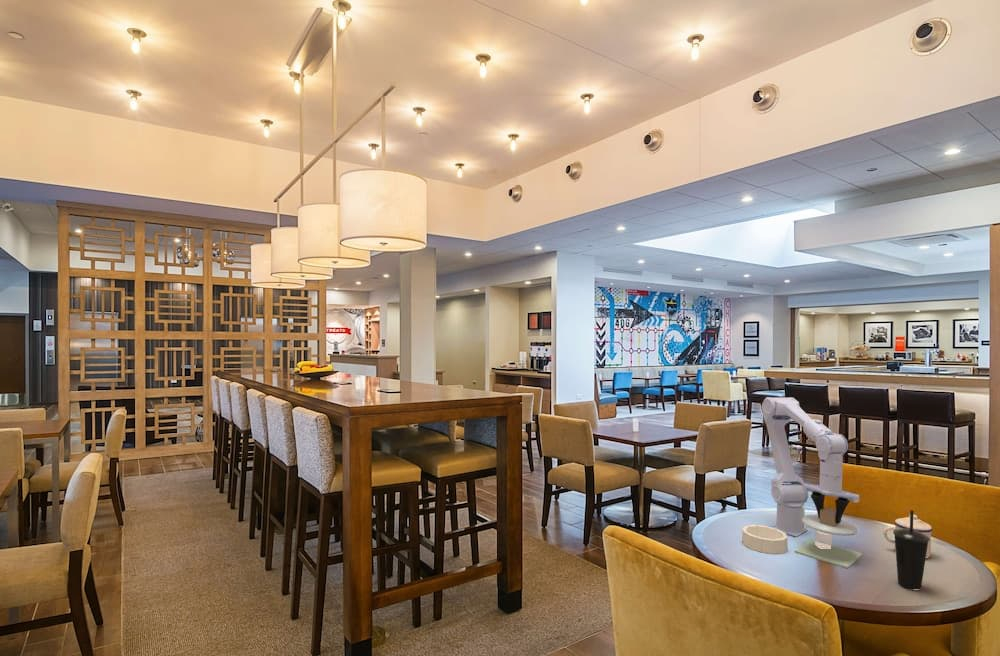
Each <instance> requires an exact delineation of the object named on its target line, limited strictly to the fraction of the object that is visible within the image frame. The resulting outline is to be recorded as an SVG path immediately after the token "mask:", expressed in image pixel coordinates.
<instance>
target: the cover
mask: <svg viewBox="0 0 1000 656" xmlns="http://www.w3.org/2000/svg"><path fill="white" fill-rule="evenodd" d="M802 522H803V523H804V526H806V527H807V528H809V529H812V530H814V531H818V532H821V533H823V534H827V535H834V536H842V537H843V536H847V537H848V536H854V535H857V533H858V528H857V526H856V525H854V524H853V523H851V522H849V521H846V520H844V519H841V522H840V523H839V524H838V523H836V508H835V509H834V508H831V507H826V506H824V508H822V509H820V519H819V518H818V514H808V515H805V516H804V517H803V518H802Z"/></svg>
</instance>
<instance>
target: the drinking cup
mask: <svg viewBox="0 0 1000 656" xmlns="http://www.w3.org/2000/svg"><path fill="white" fill-rule="evenodd" d="M909 515H910V529H897V530H893V532H892V533H893V536H894V541H895V544H894V549H895V548H896V550H895V558H896V573H897V584H898V586H900V587H901V588H903V587H904V589H906V588H907V589H906V590H909V589H920V588H921V589H922V585H923V577H924V573H925V564H926V560H927V559H926V553H927V546H928V542H929V541H930V538H929V537H928V536H926V535H924V534H923V533H921V532H919V531H916V530H913V515H915V514H914V510H913V509H910V511H909Z"/></svg>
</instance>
